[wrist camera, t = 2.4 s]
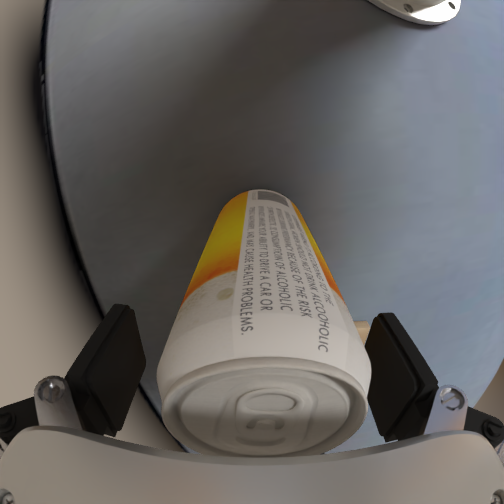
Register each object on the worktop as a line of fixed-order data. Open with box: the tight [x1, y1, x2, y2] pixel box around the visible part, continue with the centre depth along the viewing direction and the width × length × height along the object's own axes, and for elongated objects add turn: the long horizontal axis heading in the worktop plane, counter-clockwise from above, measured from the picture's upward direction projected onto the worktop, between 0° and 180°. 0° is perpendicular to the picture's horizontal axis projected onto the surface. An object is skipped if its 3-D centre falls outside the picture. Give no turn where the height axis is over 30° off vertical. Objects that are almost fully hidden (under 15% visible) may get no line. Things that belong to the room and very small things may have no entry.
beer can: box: [157, 189, 371, 458], centre depth 13 cm, size 6×6×15 cm
